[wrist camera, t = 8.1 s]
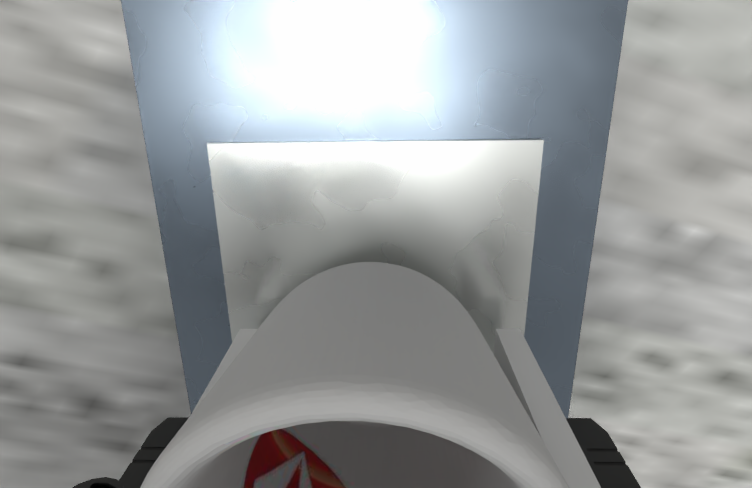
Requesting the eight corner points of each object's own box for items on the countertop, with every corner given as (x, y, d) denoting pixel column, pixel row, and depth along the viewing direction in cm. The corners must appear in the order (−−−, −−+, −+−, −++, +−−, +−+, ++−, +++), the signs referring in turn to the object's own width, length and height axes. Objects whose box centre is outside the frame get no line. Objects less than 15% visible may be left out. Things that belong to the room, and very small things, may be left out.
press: (221, 431, 22) (170, 546, 16) (108, -342, 13) (-75, -615, 8) (540, 432, 21) (589, 549, 16) (637, -360, 13) (809, -656, 8)
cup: (598, 408, 16) (779, 702, 9) (418, 525, 18) (436, 847, 11) (379, 171, 14) (365, 290, 6) (199, 336, 16) (21, 577, 8)
